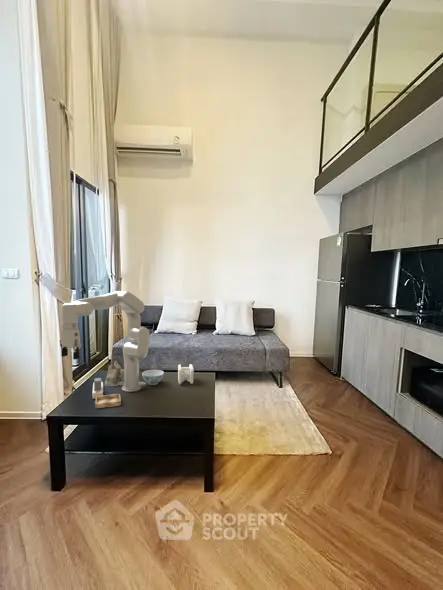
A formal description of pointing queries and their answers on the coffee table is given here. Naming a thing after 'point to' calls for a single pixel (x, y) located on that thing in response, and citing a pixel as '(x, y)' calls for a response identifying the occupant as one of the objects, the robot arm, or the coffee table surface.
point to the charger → (97, 384)
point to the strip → (97, 392)
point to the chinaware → (152, 376)
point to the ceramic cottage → (115, 376)
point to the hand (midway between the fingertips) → (70, 357)
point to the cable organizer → (185, 373)
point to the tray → (107, 401)
